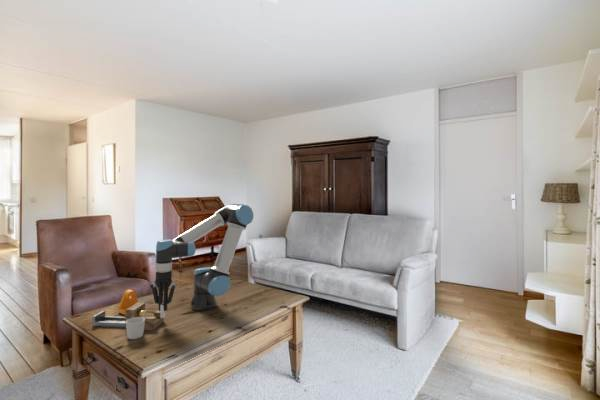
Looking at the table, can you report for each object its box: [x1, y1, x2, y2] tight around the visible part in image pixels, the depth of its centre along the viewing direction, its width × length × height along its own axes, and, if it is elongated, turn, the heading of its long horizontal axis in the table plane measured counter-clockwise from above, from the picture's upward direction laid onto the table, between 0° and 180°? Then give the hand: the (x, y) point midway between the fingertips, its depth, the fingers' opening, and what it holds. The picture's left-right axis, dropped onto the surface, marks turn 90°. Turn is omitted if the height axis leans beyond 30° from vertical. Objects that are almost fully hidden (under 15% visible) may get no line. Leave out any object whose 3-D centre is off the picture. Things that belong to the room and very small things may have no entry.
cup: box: [125, 317, 145, 340], centre depth 152 cm, size 11×8×8 cm
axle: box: [124, 309, 157, 319], centre depth 165 cm, size 14×4×4 cm, turn 88°
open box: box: [126, 301, 165, 331], centre depth 165 cm, size 14×11×10 cm
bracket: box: [117, 289, 139, 316], centre depth 182 cm, size 11×7×12 cm, turn 141°
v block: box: [91, 310, 126, 329], centre depth 165 cm, size 17×8×5 cm, turn 88°
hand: (162, 316), depth 164 cm, fingers closed
